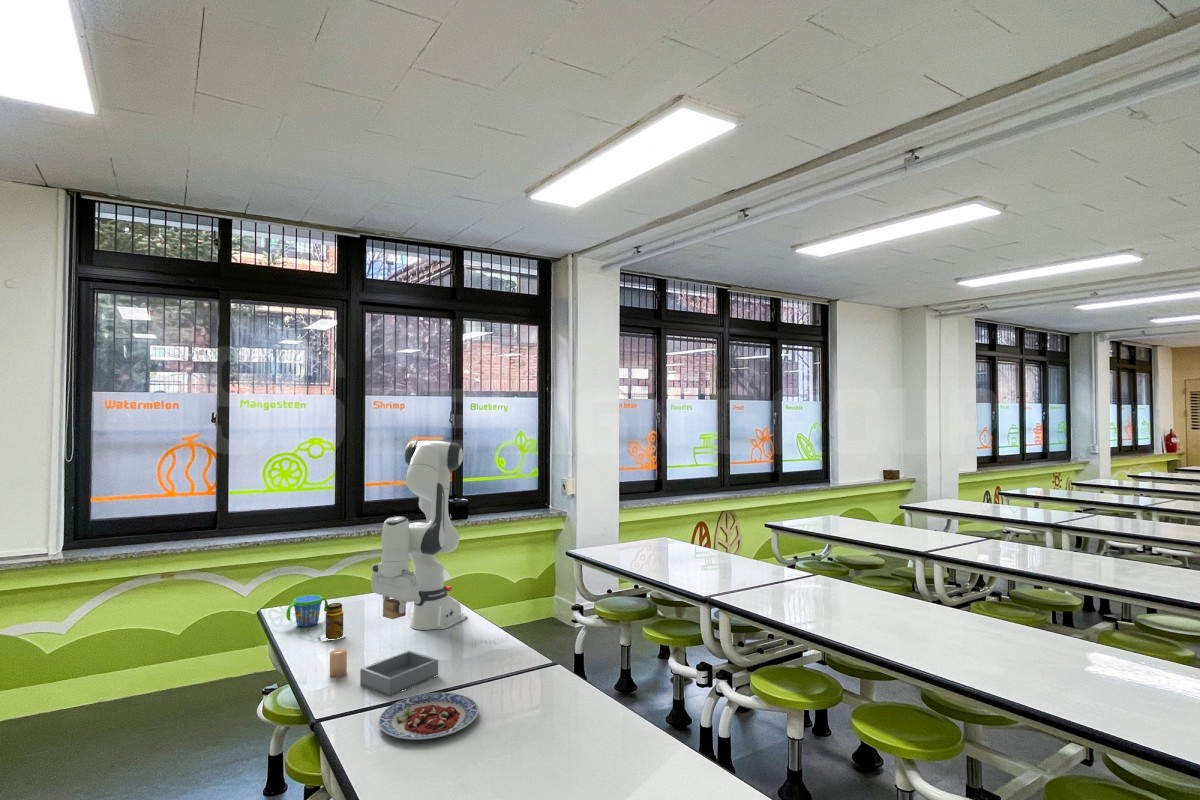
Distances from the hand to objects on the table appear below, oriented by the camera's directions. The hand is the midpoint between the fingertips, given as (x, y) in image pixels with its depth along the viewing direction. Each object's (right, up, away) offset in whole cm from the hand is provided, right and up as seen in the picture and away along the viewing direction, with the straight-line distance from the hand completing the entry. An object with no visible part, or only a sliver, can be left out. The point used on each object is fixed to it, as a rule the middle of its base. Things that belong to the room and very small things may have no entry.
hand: (394, 611), depth 208 cm
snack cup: (-47, -19, +42) cm, 66 cm away
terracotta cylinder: (-16, -18, -6) cm, 25 cm away
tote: (+5, -18, -11) cm, 22 cm away
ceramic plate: (+21, -18, -37) cm, 46 cm away
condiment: (-32, -19, +27) cm, 46 cm away
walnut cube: (0, -2, 0) cm, 2 cm away
